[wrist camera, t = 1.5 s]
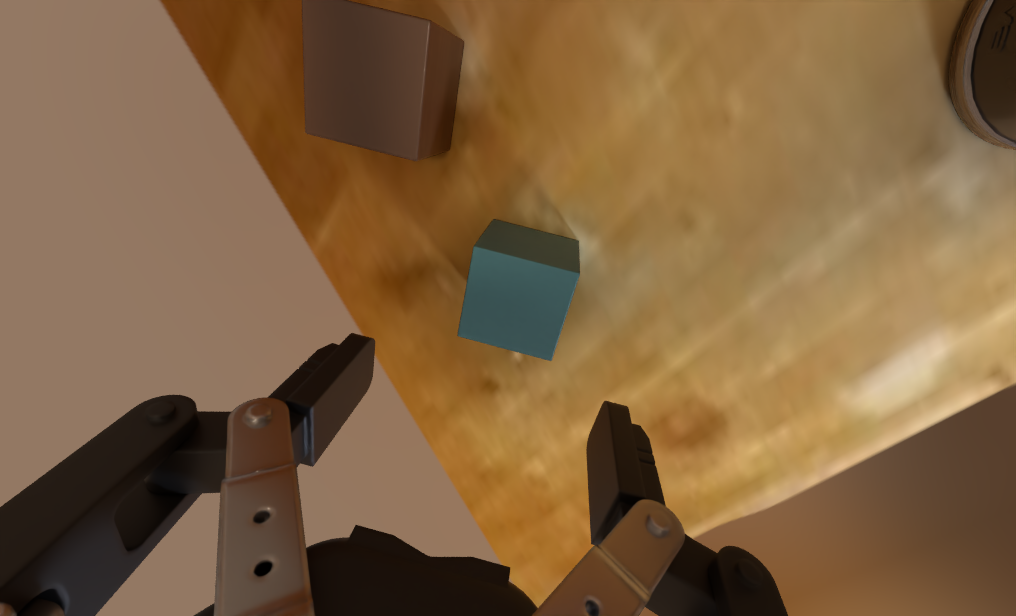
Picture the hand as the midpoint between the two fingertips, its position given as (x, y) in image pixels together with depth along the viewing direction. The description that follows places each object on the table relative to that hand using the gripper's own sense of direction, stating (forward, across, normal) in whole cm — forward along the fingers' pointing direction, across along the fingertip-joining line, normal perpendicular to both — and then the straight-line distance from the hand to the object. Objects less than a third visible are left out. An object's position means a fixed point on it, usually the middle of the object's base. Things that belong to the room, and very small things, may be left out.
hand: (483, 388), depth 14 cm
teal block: (+11, 0, 0) cm, 11 cm away
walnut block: (+11, +8, -8) cm, 16 cm away
